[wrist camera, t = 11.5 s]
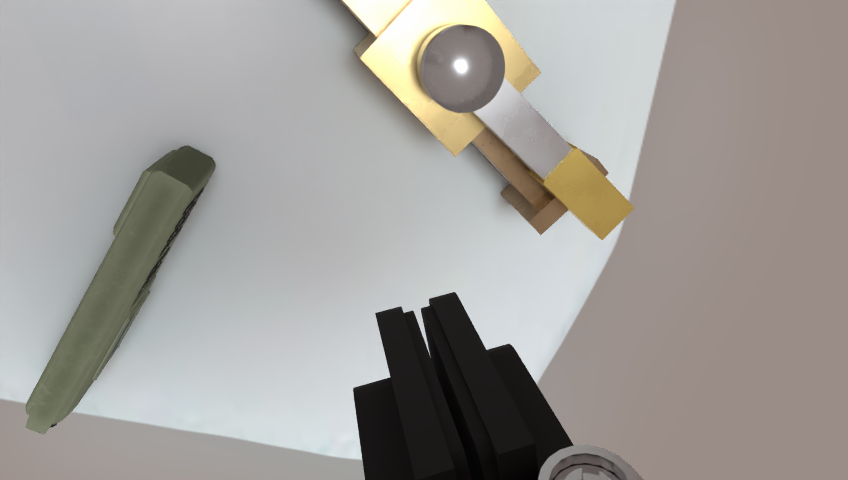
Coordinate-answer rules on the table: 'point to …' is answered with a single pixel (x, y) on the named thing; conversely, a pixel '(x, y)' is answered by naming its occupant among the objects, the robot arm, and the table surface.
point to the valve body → (397, 68)
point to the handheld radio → (120, 282)
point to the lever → (515, 122)
